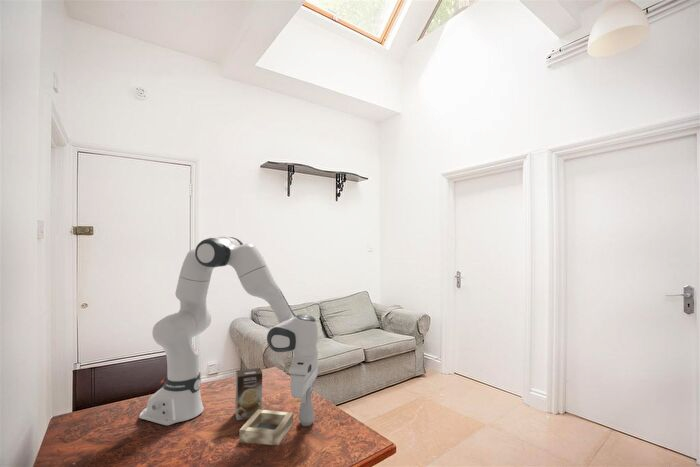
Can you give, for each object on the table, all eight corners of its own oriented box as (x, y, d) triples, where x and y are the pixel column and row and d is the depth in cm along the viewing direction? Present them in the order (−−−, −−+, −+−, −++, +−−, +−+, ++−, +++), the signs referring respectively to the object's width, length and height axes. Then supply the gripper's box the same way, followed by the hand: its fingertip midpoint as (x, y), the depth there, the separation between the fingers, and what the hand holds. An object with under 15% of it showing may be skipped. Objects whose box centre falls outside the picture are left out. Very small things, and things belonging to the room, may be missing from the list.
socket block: (239, 442, 112) (239, 429, 112) (257, 420, 125) (257, 409, 126) (278, 446, 110) (278, 434, 110) (293, 424, 123) (293, 412, 123)
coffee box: (236, 421, 125) (236, 376, 125) (235, 412, 131) (235, 370, 131) (262, 416, 128) (262, 373, 129) (259, 408, 134) (260, 367, 134)
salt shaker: (311, 428, 120) (311, 391, 120) (296, 427, 121) (296, 390, 121) (316, 419, 126) (316, 384, 126) (301, 418, 127) (301, 383, 127)
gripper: (306, 350, 134) (306, 386, 134) (287, 370, 114) (287, 412, 114) (321, 351, 133) (321, 387, 133) (305, 372, 113) (305, 414, 113)
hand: (305, 399), depth 124 cm, fingers closed on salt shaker, 3 cm apart
